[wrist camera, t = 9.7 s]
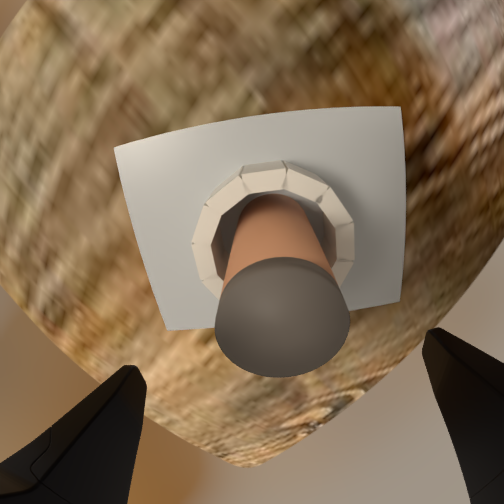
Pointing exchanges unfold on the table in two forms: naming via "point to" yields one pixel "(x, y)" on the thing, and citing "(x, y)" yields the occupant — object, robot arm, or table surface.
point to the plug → (279, 294)
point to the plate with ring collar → (268, 182)
